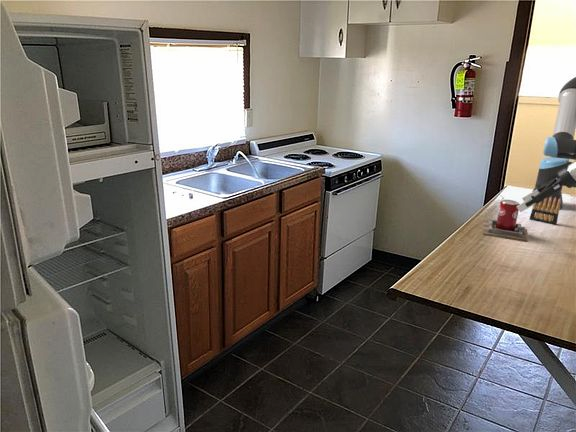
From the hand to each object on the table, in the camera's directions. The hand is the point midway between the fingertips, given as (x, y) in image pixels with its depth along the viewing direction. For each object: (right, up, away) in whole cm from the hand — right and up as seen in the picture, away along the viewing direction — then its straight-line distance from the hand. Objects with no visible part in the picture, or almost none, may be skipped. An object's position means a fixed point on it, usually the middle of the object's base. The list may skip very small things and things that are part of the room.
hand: (521, 205), depth 190 cm
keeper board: (-4, -11, +7) cm, 13 cm away
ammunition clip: (+20, -7, +21) cm, 29 cm away
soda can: (-4, -10, +7) cm, 13 cm away
